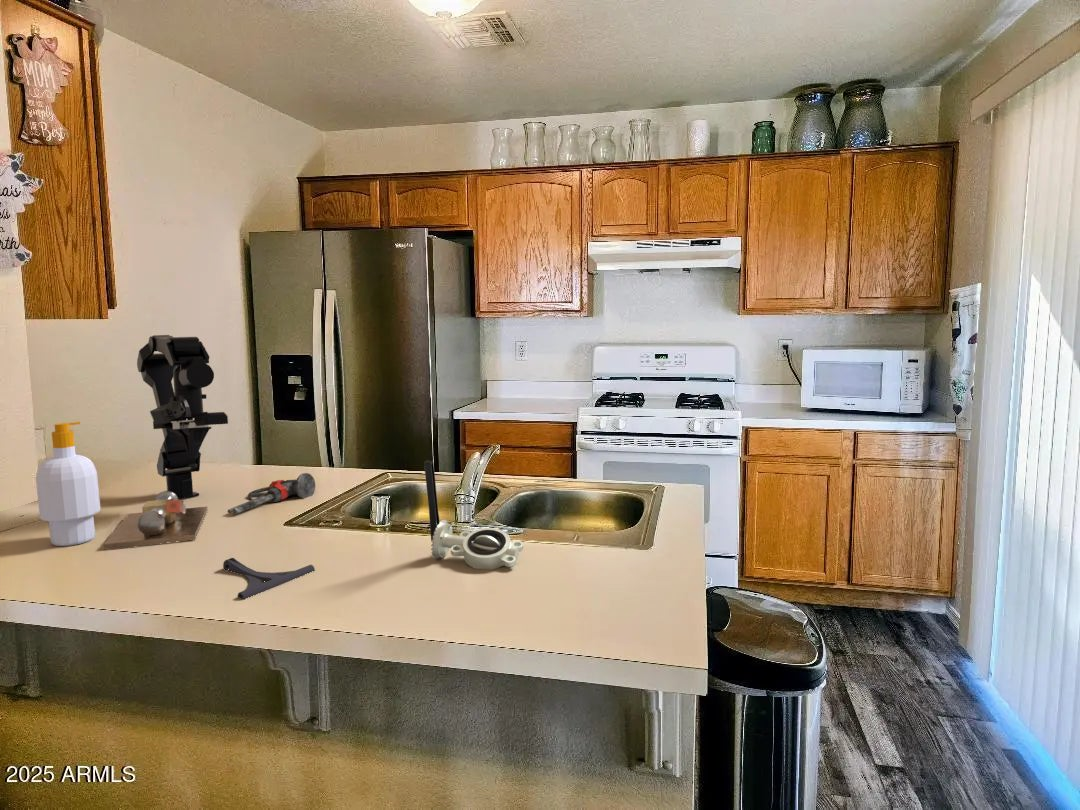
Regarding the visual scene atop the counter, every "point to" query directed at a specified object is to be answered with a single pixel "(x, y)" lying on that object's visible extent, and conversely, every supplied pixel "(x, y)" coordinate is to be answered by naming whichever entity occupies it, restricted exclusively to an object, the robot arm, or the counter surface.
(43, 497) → the soap bottle
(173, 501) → the lever
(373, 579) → the counter surface
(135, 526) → the valve stand
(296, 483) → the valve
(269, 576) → the dark grey squeegee
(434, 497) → the butterfly valve
